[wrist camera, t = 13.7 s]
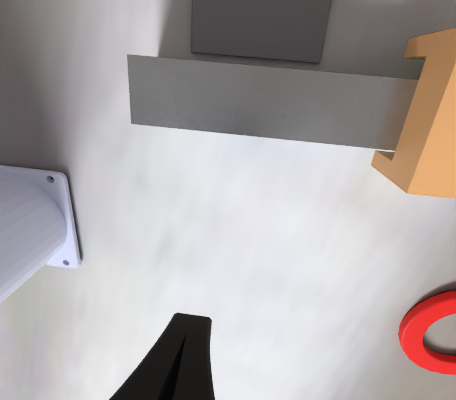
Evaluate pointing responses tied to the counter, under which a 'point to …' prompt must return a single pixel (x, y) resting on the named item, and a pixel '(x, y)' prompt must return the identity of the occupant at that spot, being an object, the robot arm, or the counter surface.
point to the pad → (260, 28)
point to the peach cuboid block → (427, 123)
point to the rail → (269, 101)
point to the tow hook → (417, 326)
